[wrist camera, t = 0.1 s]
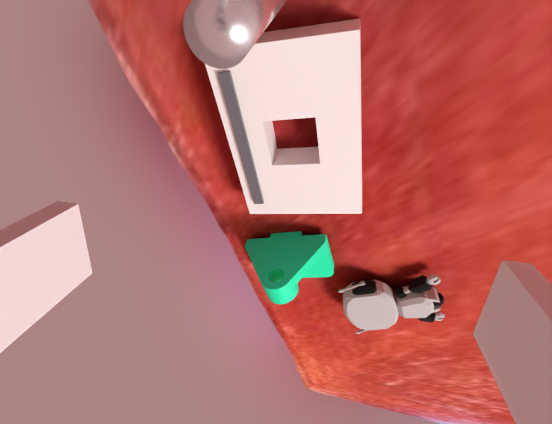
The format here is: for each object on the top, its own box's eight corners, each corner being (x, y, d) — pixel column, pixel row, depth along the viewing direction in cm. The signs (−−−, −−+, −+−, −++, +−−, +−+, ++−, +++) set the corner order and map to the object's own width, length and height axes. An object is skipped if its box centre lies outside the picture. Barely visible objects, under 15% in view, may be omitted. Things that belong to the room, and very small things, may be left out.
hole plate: (213, 39, 33) (199, 52, 31) (360, 18, 30) (359, 31, 27) (256, 196, 46) (249, 215, 44) (362, 194, 43) (361, 215, 40)
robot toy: (436, 257, 49) (334, 271, 54) (444, 282, 46) (334, 295, 51) (441, 305, 56) (351, 314, 61) (449, 330, 53) (352, 337, 58)
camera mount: (264, 265, 57) (249, 321, 49) (249, 234, 52) (230, 289, 45) (335, 263, 53) (331, 323, 46) (326, 228, 48) (319, 288, 41)
